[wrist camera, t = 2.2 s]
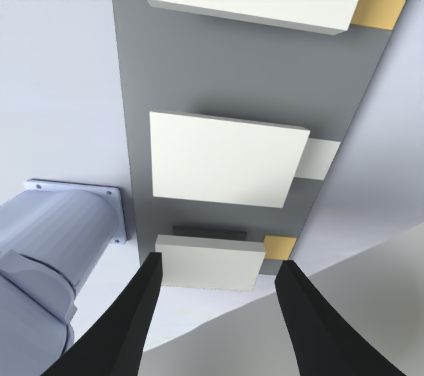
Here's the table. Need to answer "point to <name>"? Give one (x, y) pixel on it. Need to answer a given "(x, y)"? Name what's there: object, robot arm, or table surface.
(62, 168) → the table surface
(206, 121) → the switch
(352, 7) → the switch
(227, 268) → the switch
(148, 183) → the switch panel
